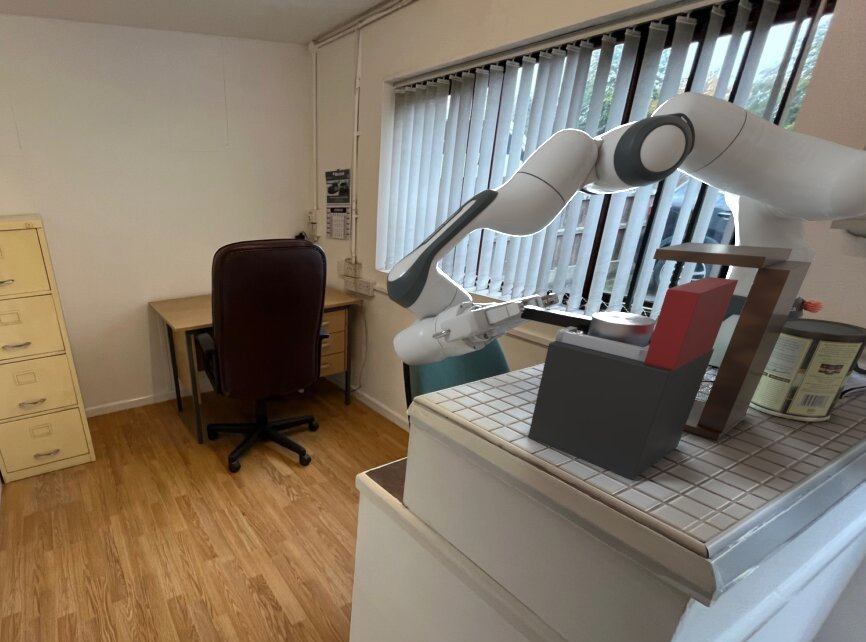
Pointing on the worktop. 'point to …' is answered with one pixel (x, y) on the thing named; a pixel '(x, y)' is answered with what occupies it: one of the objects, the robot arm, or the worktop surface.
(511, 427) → the worktop surface
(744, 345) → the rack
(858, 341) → the coffee can
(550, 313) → the filter holder
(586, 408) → the coffee maker
